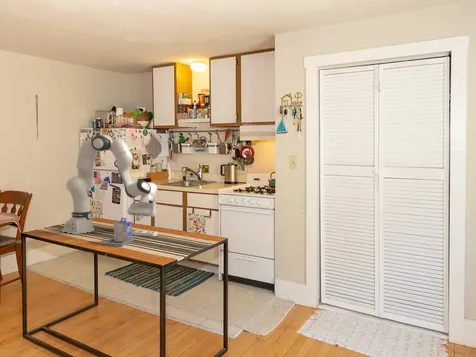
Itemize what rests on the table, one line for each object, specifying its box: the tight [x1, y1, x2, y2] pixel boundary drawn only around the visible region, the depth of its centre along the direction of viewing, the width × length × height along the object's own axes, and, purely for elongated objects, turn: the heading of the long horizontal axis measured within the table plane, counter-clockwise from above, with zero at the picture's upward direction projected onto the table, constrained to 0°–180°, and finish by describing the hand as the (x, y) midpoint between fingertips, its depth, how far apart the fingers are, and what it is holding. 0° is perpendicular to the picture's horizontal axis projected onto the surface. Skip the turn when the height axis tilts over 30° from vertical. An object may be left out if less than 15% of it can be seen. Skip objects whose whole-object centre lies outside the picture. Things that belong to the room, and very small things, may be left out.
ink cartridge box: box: [113, 217, 133, 243], centre depth 242 cm, size 10×6×14 cm, turn 74°
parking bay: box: [102, 237, 134, 247], centre depth 238 cm, size 13×12×2 cm
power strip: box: [132, 229, 158, 237], centre depth 259 cm, size 22×5×2 cm, turn 73°
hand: (137, 220), depth 260 cm, fingers closed
